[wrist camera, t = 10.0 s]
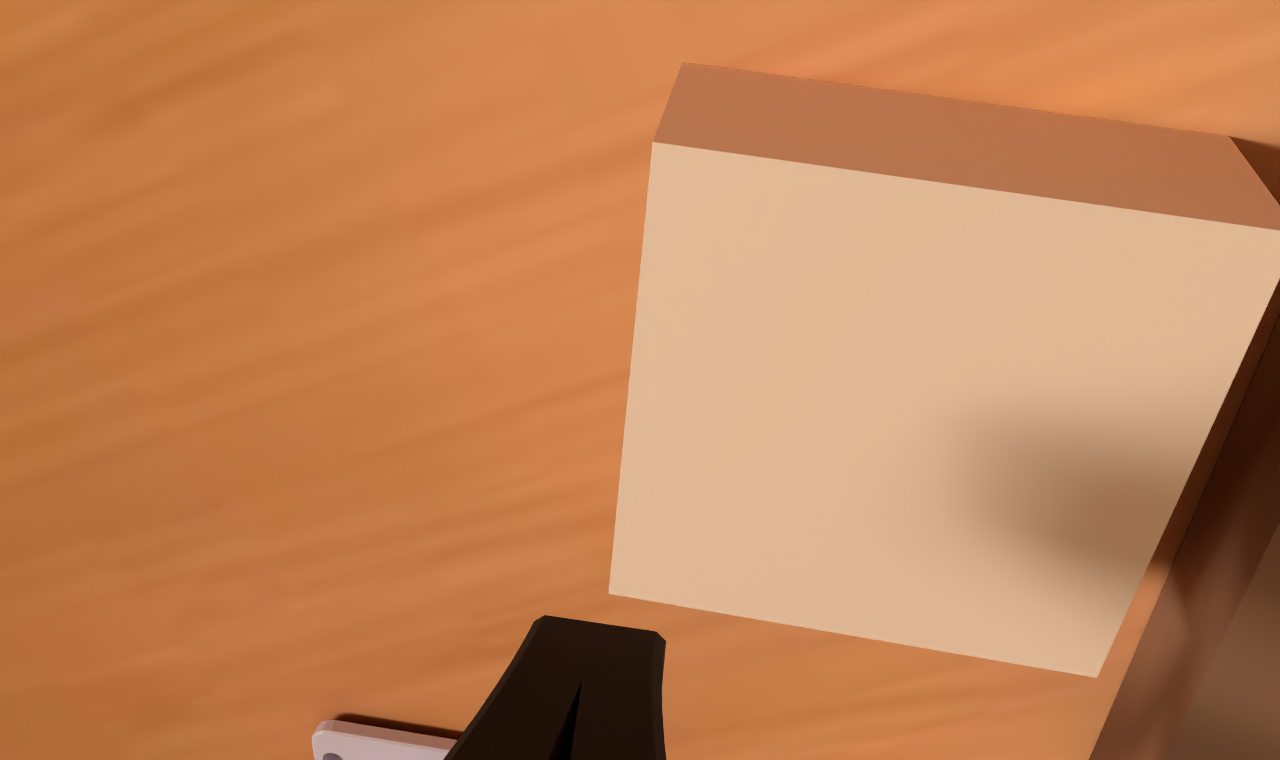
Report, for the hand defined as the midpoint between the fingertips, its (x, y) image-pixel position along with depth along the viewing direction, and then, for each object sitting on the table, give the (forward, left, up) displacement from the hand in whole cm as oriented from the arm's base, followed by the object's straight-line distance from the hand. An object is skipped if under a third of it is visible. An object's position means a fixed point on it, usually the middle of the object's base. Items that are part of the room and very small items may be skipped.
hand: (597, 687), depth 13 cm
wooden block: (0, -3, -9) cm, 9 cm away
